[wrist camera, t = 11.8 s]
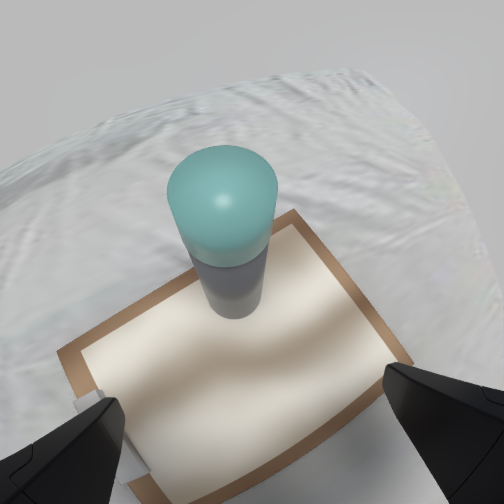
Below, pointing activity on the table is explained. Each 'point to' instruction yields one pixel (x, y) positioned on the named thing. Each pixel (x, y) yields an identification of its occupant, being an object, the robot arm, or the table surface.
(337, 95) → the table surface
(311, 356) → the clipboard
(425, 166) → the table surface
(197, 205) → the marker
